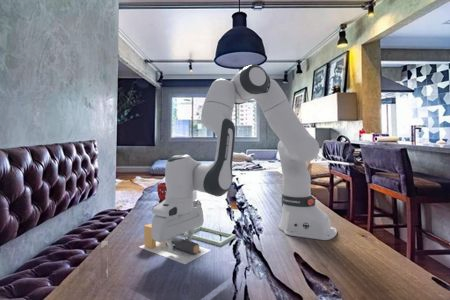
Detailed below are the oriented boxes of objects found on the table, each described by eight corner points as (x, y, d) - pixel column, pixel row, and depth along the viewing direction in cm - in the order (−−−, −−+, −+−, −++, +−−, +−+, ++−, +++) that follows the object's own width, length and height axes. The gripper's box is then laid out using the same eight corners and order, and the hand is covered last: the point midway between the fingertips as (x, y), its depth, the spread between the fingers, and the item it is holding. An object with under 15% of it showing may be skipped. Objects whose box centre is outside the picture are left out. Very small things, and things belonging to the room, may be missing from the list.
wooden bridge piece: (172, 239, 96) (172, 220, 96) (152, 248, 89) (151, 227, 88) (165, 237, 98) (164, 218, 98) (144, 245, 91) (143, 225, 91)
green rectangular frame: (235, 240, 98) (235, 234, 98) (220, 249, 91) (220, 242, 91) (200, 231, 108) (200, 226, 108) (184, 238, 101) (184, 232, 101)
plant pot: (178, 206, 149) (177, 185, 149) (154, 206, 150) (154, 185, 149) (182, 200, 162) (182, 181, 162) (160, 201, 163) (160, 181, 162)
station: (211, 253, 87) (211, 248, 87) (185, 268, 78) (185, 262, 78) (165, 239, 100) (165, 234, 100) (138, 250, 91) (138, 245, 91)
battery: (198, 255, 85) (201, 244, 86) (191, 254, 82) (194, 243, 83) (170, 245, 92) (173, 235, 93) (163, 245, 90) (165, 234, 91)
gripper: (194, 197, 97) (194, 235, 98) (147, 210, 80) (148, 255, 81) (207, 199, 93) (208, 238, 94) (161, 213, 77) (162, 260, 77)
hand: (180, 246), depth 87 cm, fingers open, 6 cm apart
